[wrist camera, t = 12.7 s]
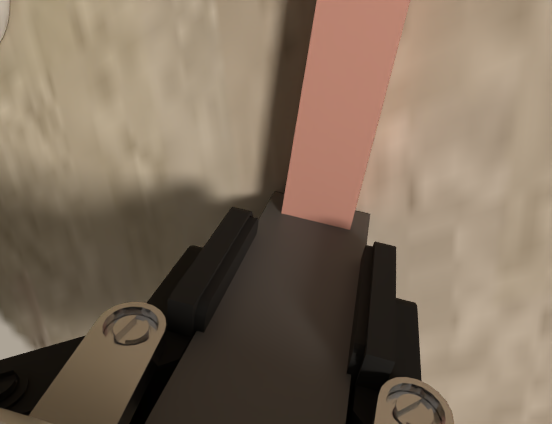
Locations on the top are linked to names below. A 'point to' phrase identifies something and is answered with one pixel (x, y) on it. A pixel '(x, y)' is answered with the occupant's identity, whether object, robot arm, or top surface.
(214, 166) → the top surface
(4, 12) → the supplement bottle
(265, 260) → the rake
